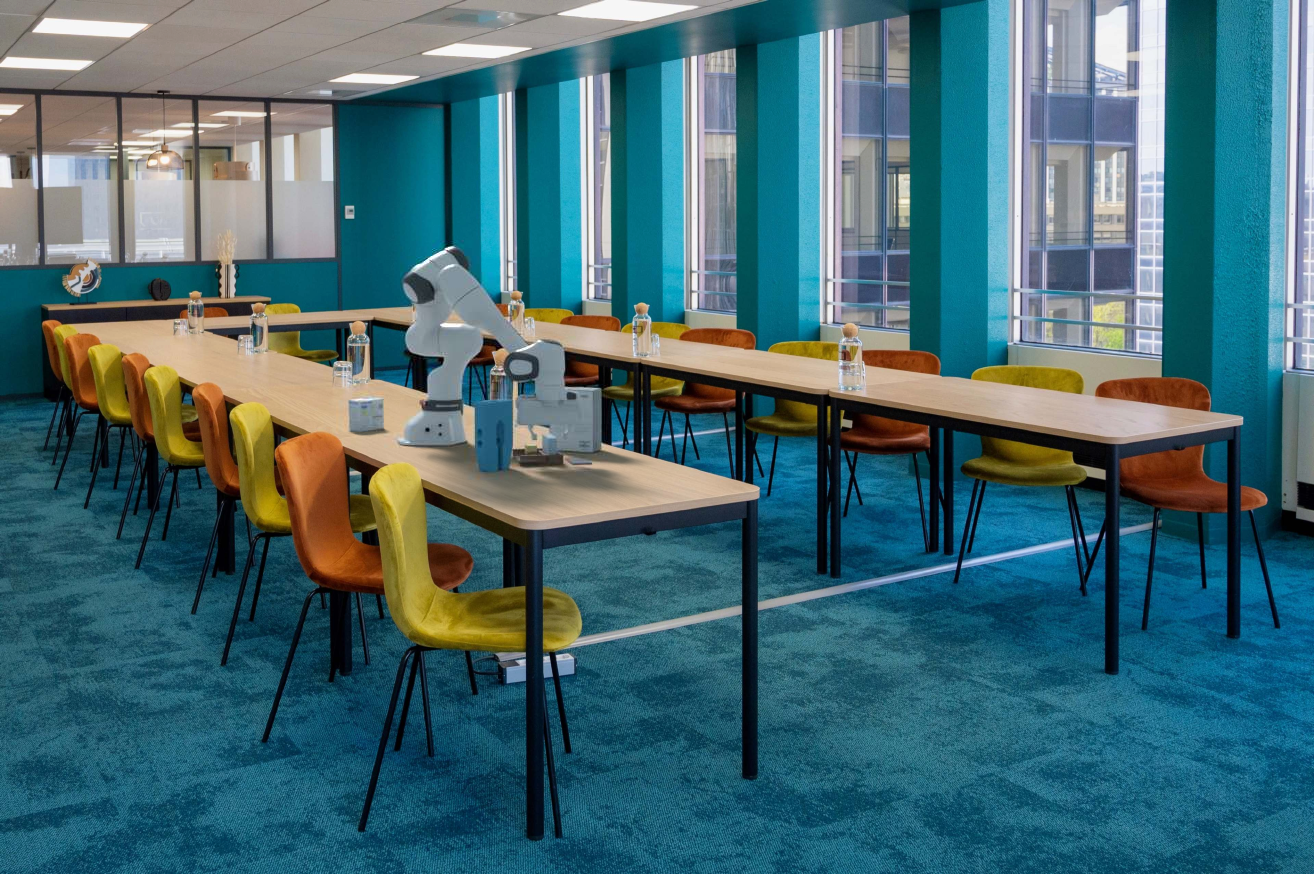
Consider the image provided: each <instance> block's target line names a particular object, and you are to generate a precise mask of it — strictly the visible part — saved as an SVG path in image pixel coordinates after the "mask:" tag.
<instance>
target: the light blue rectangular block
mask: <svg viewBox="0 0 1314 874" xmlns="http://www.w3.org/2000/svg"><path fill="white" fill-rule="evenodd" d="M541 437H542V438H541V443H542V444H541V448H542V452H543V453H545V454H546V455H549V454H557V451H558V450H557V438H556V437H554V436H553V435H552V434H550V433H542V434H541Z"/></svg>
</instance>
